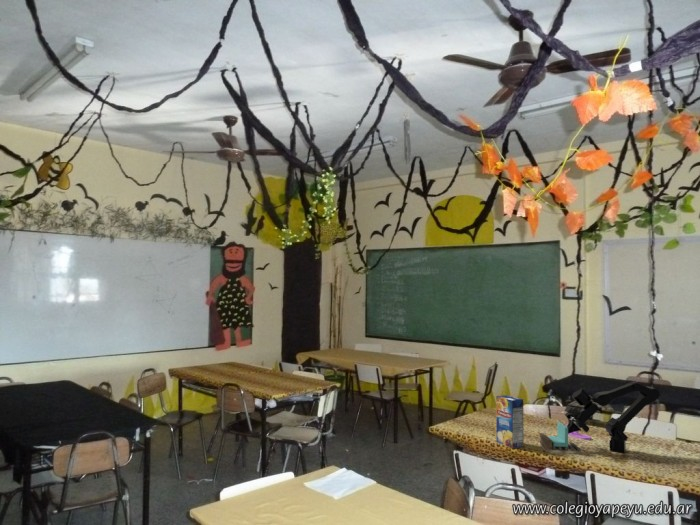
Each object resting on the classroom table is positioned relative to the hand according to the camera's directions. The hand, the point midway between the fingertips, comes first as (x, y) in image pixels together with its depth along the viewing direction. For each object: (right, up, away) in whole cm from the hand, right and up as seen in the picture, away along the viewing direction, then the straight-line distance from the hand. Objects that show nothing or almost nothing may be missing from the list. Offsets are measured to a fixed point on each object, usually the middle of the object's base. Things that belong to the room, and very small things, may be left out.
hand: (564, 433), depth 259 cm
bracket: (+18, -10, +23) cm, 30 cm away
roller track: (-2, -8, 0) cm, 8 cm away
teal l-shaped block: (-4, -5, 0) cm, 6 cm away
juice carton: (-26, -8, +6) cm, 28 cm away
